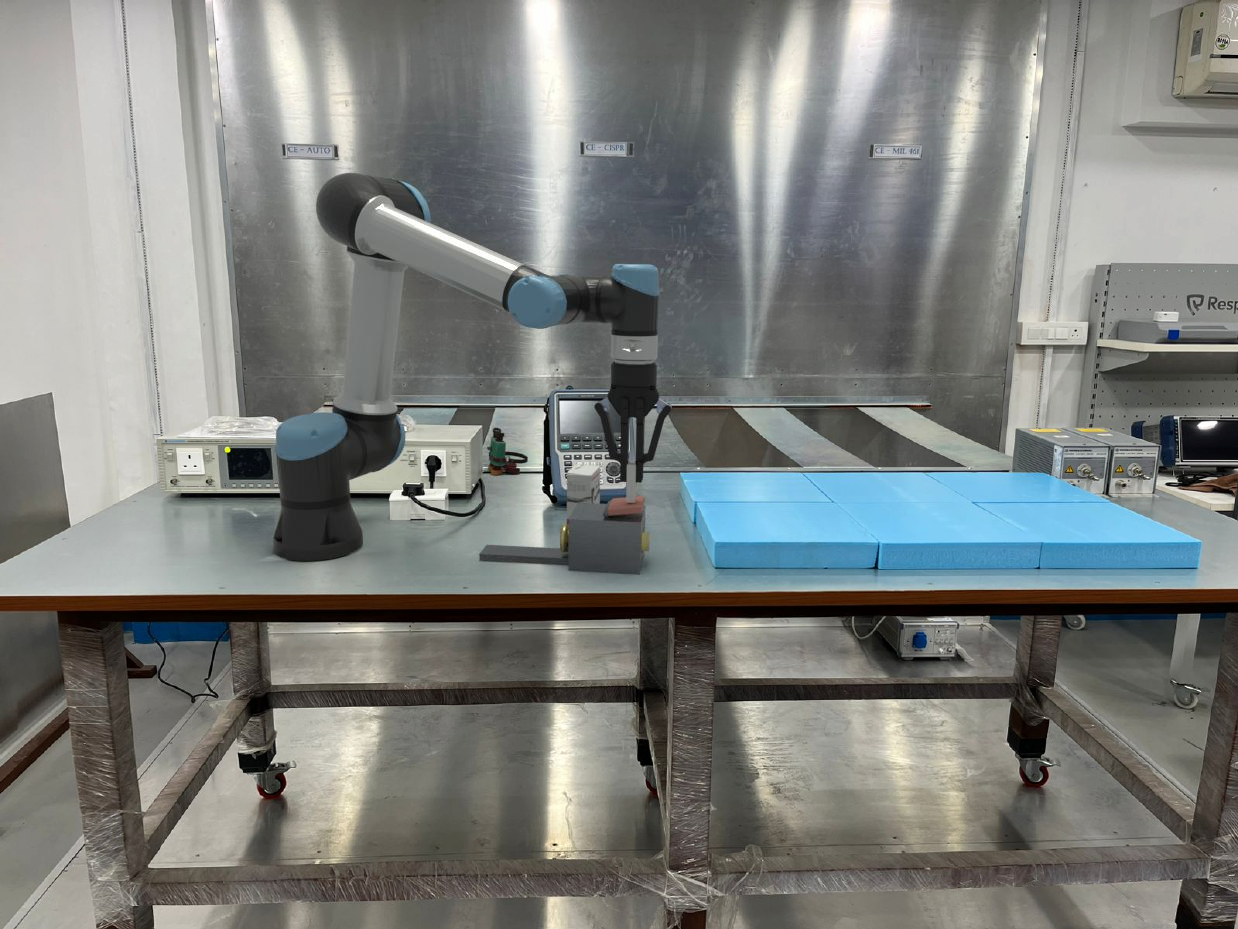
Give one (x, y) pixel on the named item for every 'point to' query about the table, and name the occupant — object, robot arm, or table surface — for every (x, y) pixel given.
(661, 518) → the table surface
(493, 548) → the block
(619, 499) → the salmon pink slab
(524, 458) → the green pump
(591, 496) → the ink box
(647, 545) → the lynch pin
